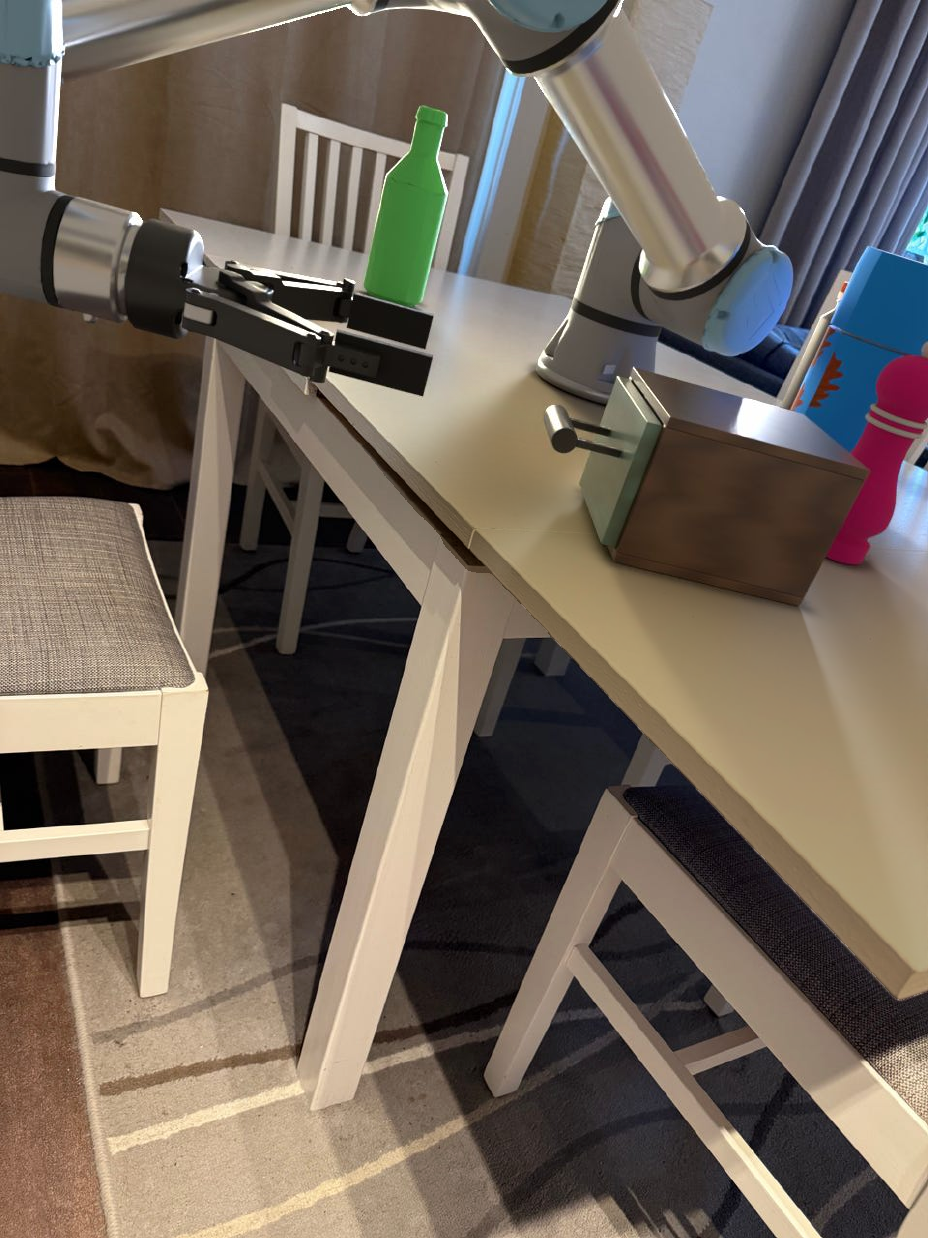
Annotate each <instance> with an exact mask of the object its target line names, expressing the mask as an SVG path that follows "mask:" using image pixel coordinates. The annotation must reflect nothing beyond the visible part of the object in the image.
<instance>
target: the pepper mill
mask: <svg viewBox="0 0 928 1238" xmlns="http://www.w3.org/2000/svg"><path fill="white" fill-rule="evenodd" d="M921 354H922V356H918V355H908V356H902V357H899V358H896V359H894V360H893V361H891V362H890V363H889V364H888V365H887V366H886V367H885V368H884V369H883V370H882V372H881V373H880V375H879V377H878V379H877V382H876V393H877V397H878V402H877V403H874V404H871V406H870V408H871V410H870V411H869V413H868V414H866V416H865V418H866V419H867V420H868V423H867V425H866V427H865V430H864V432H863V435H862V436H861V438H860V440H859V441H858V443H857V445H856V446H855V448H854V449H853V450H852V451H851V452H850V454H851V455H853V456H854V457H855V458H856V459H857V460H858V461H860V462H861V463H862V464H863V465H864V466H866V467H867V468H868V469H869V470H870V473H869V475H868V477H867V479H866V480H865V482H864V484H863V486H862V488H861V490H860V492H859V494H858V496H857V498H856V500H855V501H854V503H853V505H852V507H851V509H850V511H849V513H848V515H847V517H846V519H845V521H844V523H843V524H842V526H841V528H840V530H839V532H838V534H837V536H836V538H835V540H834V542H833V544H832V546H831V547H830V549H829V551H828V553H827V555H826V557H825V559H829V560H832V561H835V562H838V563H842V564H845V565H853V566H854V565H860V564H862V563H863V562H864V559H865V558H866V556H867V554H868V553H869V551H870V548H871V544H870V541H868V540H869V539H871V538H873V537H875V536H877V535H880V534H882V533H884V532H885V531H886V530H887V529H888V527H889V526H890V524H891V521H892V519H893V517H894V515H895V510H896V506H897V495H898V483H899V476H900V472H901V468H902V464H903V462H904V460H905V458H906V455H907V453H908V451H909V450H910V448H911V447H912V445H913V443H914V442H915V440H919V439H921V438H923V436H924V435H923V433H924V431H925V429H927V428H928V422H926V421H927V420H928V342H926V343H925V344H924V345H923V347H922V350H921Z"/></svg>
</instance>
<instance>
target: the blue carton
mask: <svg viewBox="0 0 928 1238" xmlns="http://www.w3.org/2000/svg"><path fill="white" fill-rule="evenodd" d="M848 282H849V283H848V285H847V287H846V289H845V291H844V294H843V296H842V298H841V300H840V302H839V305H838V307H837V309H836V311H835V313H834V315H833V318H832V320H831V322H830V323H831V324H832V325H829V326H828V329H827V331H826V333H825V335H824V337H823V339H822V342H821V344H820V346H819V348H818V350H817V352H816V355H815V357H814V359H813V361H812V363H811V366H810V368H809V370H808V372H807V374H806V376H805V379H804V381H803V383H802V385H801V387H800V389H799V392H798V394H797V396H796V398H795V400H794V403H793V405H792V407H791V409H790V411H794V412H797V413H801V414H804V415H805V416H806V417H808V418H809V419H810V420H811V421H812V422H813V423H815V424H816V425H817V426H818V427H819V428H821V429H822V430H823V431H824V432H825V433H827V434H828V435H829V436H830V437H831V438H832V439H834V440H835V441H836V442H837V443H838V444H840V445H841V446H842V447H843V448H844V449H845V450H847V451H848V452H849V453H850V452H851V451H852V450H853V449H854V448H855V446H856V445H857V443H858V441H859V440H860V438H861V436H862V435H863V432H864V430H865V427H866V425H867V423H868V420H867V419H866V418H865V416H866V414H868V413H869V411H870V410H871V408H870V406H871V404H874V403H877V402H878V397H877V393H876V382H877V379H878V377H879V375H880V373H881V372H882V370H883V369H884V368H885V367H886V366H887V365H888V364H889V363H890V362H891V361H893V360H894V359H896V358H899V357H902V356H908V355H918V356H922V354H921V350H922V347H923V345H924V344H925V343H926V342H928V264H927V263H924V262H921V261H918V260H915V259H913V258H910V257H909V258H908V257H905V256H902V255H899V254H896V253H892V252H889V251H886V250H883V249H879V248H876V247H873V246H869V245H867V246H866V248H865V250H864V251H863V253H862V255H861V257H860V258H859V260H858V262H857V263H856V266H855V267H854V269H853V272H852V274H851V277H850V279H849V281H848Z"/></svg>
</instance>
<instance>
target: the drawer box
mask: <svg viewBox="0 0 928 1238" xmlns="http://www.w3.org/2000/svg"><path fill="white" fill-rule="evenodd" d="M629 379H630V380H631V382H632V383H633V384H634V386H635V387H636V389H637V390H638V391H639V393H640V394H641V396H642V397H643V396H644V397H645V398H646V399H647V401H648V402H649V404H650V405H651V407H652V408H653V409H654V411H655V412H656V414H657V415H658V416H659V418H660V419H661V421H662V422H663V423H664V425H663V427H662V430H661V433H660V435H659V438H658V440H657V443H656V445H655V448H654V450H653V453H652V456H651V458H650V461H649V463H648V466H647V468H646V471H645V473H644V476H643V479H642V481H641V484H640V486H639V489H638V491H637V494H636V496H635V499H634V502H633V504H632V507H631V509H630V512H629V514H628V517H627V519H626V522H625V525H624V527H623V530H622V532H621V535H620V537H619V540H618V542H617V545H616V547H612V546H608V545H606V547H607V549H608V552H609V554H610V556H611V559H612V561H613V562H614V563H617V564H623V565H626V566H630V567H634V568H639V569H642V570H646V571H647V570H648V571H651V572H656V573H660V574H663V575H668V576H672V577H675V578H676V577H677V578H679V579H683V580H689V581H693V582H697V583H702V584H705V585H710V586H714V587H718V588H721V589H722V588H723V589H727V590H730V591H734V592H738V593H743V594H746V595H750V596H755V597H759V598H763V599H768V600H772V601H776V602H781V603H784V604H788V605H792V606H797V607H800V606H801V605H802V603H803V601H804V599H805V597H806V595H807V593H808V591H809V590H810V587H811V586H812V584H813V582H814V580H815V578H816V576H817V574H818V573H819V570H820V569H821V567H822V565H823V563H824V561H825V559H826V555H827V553H828V551H829V549H830V547H831V546H832V544H833V542H834V540H835V538H836V536H837V534H838V532H839V530H840V528H841V526H842V524H843V523H844V521H845V519H846V517H847V515H848V513H849V511H850V509H851V507H852V505H853V503H854V501H855V500H856V498H857V496H858V494H859V492H860V490H861V488H862V486H863V484H864V482H865V480H866V479H867V477H868V475H869V473H870V470H869V469H868V468H867V467H866V466H864V465H863V464H862V463H861V462H860V461H858V460H857V459H856V458H855V457H854V456H853V455H851V454H850V453H849V452H848V451H847V450H845V449H844V448H843V447H842V446H841V445H840V444H838V443H837V442H836V441H835V440H834V439H832V438H831V437H830V436H829V435H828V434H827V433H825V432H824V431H823V430H822V429H821V428H819V427H818V426H817V425H816V424H815V423H813V422H812V421H811V420H810V419H809V418H808V417H806V416H805V415H804V414H801V413H797V412H794V411H790V410H786V409H783V408H780V406H775V405H772V404H769V403H766V402H765V403H764V402H761V401H758V400H754V399H750V398H747V397H743V396H739V395H735V394H731V393H729V392H725V391H722V390H717V389H715V388H712V387H711V388H710V387H706V386H703V385H699V384H695V383H692V382H689V381H685V380H681V379H677V378H675V377H671V376H667V375H663V374H660V373H656V372H655V373H653V372H649V371H646V370H642V369H638V368H635V367H633V369H632V372H631V375H630V378H629Z"/></svg>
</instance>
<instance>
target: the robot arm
mask: <svg viewBox="0 0 928 1238" xmlns="http://www.w3.org/2000/svg"><path fill="white" fill-rule="evenodd" d="M623 1H624V0H0V294H5V295H8V296H12V297H17V298H20V299H24V300H28V301H33V302H36V303H40V304H45V305H49V306H53V307H56V308H60V309H63V310H67V311H70V312H77V313H81V314H83V315H82V319H83V321H84V322H86V323H87V324H96V323H98V320H99V319H101V320H105V321H109V322H113V323H116V324H123V323H124V322H126V321H128V322H129V323H130V324H131V326H132V327H133V328H134V329H137V330H141V331H144V332H148V333H152V334H155V335H158V336H162V337H167V338H171V339H174V340H180V339H183V338H184V337H186V335H187V334H188V333H189V332H191V333H195V334H200V335H203V336H207V337H209V338H213V339H215V340H217V341H219V342H221V343H225V344H227V345H229V346H232V347H234V348H235V349H239V350H241V351H243V352H245V353H249V354H251V355H253V356H255V357H257V358H260V359H262V360H265V361H267V362H269V363H272V364H274V365H277V366H279V367H281V368H284V369H286V370H289V371H290V372H293V373H294V374H295V373H296V374H298V375H300V376H302V377H305V378H308V379H309V380H308V381H310V382H313V383H316V384H324V383H326V378H327V374H328V373H327V372H329V373H331V374H336V375H340V376H343V377H347V378H351V379H355V380H358V381H361V382H365V383H370V384H374V385H377V386H381V387H385V388H387V389H393V390H395V391H396V390H397V391H400V392H404V393H407V394H410V395H411V394H412V395H415V396H418V397H422V398H423V397H424V394H425V391H426V387H427V383H428V380H429V376H430V371H431V367H432V364H433V360H434V354H431V353H428V352H423V351H419V350H417V349H418V348H419V349H423V350H426V348H427V346H428V342H429V337H430V333H431V329H432V325H433V321H434V317H435V314H434V313H431V312H427V311H425V310H424V311H423V310H419V309H416V308H413V307H406V306H402V305H399V304H395V303H392V302H388V301H385V300H381V299H377V298H374V297H372V296H371V295H367V294H364V293H360V292H356V291H355V286H356V282H355V281H354V280H351V279H348V278H343V281H332V280H327V279H326V280H325V279H322V278H317V277H309V276H306V275H300V274H294V273H289V272H283V271H278V270H273V269H267V268H263V267H257V266H252V265H249V264H244V263H241V262H238V261H237V260H233V259H230V260H225V262H224V268H219V267H216V266H215V267H214V266H213V267H210V266H209V265H207V264H206V262H205V259H204V255H205V248H204V241H203V239H202V237H201V235H200V234H199V232H197V231H196V230H194V229H192V228H187V227H185V226H182V225H177V224H174V223H171V222H168V221H163V220H160V219H156V218H149V219H148V220H146V219H145V220H144V221H143V220H142V218H141V217H140V215H139V214H138V213H137V212H134V211H131V210H128V209H124V208H121V207H117V206H113V205H110V204H106V203H103V202H99V201H95V200H93V199H88V198H85V197H82V196H81V197H80V196H74V195H71V194H66V193H64V192H61V191H60V190H56V186H55V182H56V181H55V180H56V174H57V173H56V171H57V162H56V160H57V159H56V158H57V141H58V128H59V127H58V125H59V111H60V110H59V108H60V92H61V91H60V90H61V86H62V85H64V84H67V83H71V82H74V81H78V80H82V79H85V78H89V77H93V76H96V75H99V74H104V73H107V72H111V71H115V70H119V69H121V68H125V67H129V66H132V65H136V64H140V63H143V62H147V61H151V60H154V59H159V58H162V57H165V56H169V55H173V54H176V53H180V52H184V51H187V50H191V49H194V48H197V47H202V46H205V45H208V44H212V43H213V44H214V43H216V42H220V41H224V40H228V39H231V38H234V37H238V36H241V35H245V34H248V33H249V34H250V33H252V32H253V33H254V32H256V31H260V30H263V29H267V28H271V27H274V26H275V27H276V26H279V25H282V24H285V23H290V22H293V21H296V20H300V19H303V18H307V17H311V16H315V15H317V14H322V13H325V12H329V11H333V10H336V9H340V8H343V7H347V8H348V9H349V10H351V11H352V13H354V14H355V15H357V16H361V17H364V16H368V15H371V14H375V13H378V12H381V11H386V10H395V9H418V10H419V9H420V10H433V11H439V12H446V13H449V14H454V15H460V16H465V17H469V18H471V19H472V20H473V21H474V22H475V23H476V25H477V26H478V28H479V29H480V31H481V33H482V34H483V36H484V37H485V38H486V40H487V41H488V43H489V45H490V46H491V48H492V49H493V51H494V52H495V54H496V55H497V57H498V58H499V60H500V62H501V63H502V65H503V66H504V68H505V69H506V70H507V71H508V72H509V73H510V74H511V75H513V76H514V77H520V78H534V79H535V80H536V82H537V84H538V86H539V87H540V89H541V90H542V92H543V93H544V96H545V97H546V98H547V100H548V102H549V104H551V106H552V108H553V109H554V111H555V113H556V115H557V116H558V117H559V119H560V120H561V122H562V123H563V125H564V127H565V128H566V130H567V132H568V133H569V135H570V136H571V138H572V140H573V141H574V143H575V144H576V146H577V147H578V149H579V151H580V152H581V154H582V155H583V158H584V159H585V160H586V163H588V165H589V167H590V168H591V170H592V171H593V173H594V175H595V177H596V178H597V179H598V181H599V182H600V185H601V187H603V189H604V190H605V192H606V194H607V195H608V197H607V199H606V200H605V202H604V204H603V207H602V210H601V212H600V214H599V218H598V219H597V221H596V222H595V224H594V229H593V233H592V235H591V239H590V243H589V246H588V248H587V249H588V250H587V252H586V256H585V259H584V263H583V266H582V269H581V271H580V275H579V279H578V282H577V284H576V289H575V292H574V295H573V299H572V302H571V305H570V308H569V311H568V314H567V316H566V317H565V319H564V320H563V322H562V323H561V325H560V326H559V328H558V329H557V331H555V334H554V335H553V336H552V338H551V339H550V340H549V342H548V343H547V345H546V347H545V348H544V349H543V351H542V353H541V354H540V357H539V359H538V362H537V365H536V368H535V371H536V373H537V374H538V375H539V376H540V378H542V379H543V380H545V381H546V382H547V383H549V384H551V385H553V386H555V387H557V388H559V389H561V390H563V391H565V392H568V393H570V394H572V395H574V396H578V397H580V398H583V399H586V400H589V401H592V402H596V403H599V404H602V405H606V406H607V403H608V400H609V398H610V395H611V392H612V389H613V386H614V384H615V381H616V378H617V376H619V377H623V378H626V379H629V378H630V375H631V372H632V369H633V367H635V368H638V369H642V370H646V371H649V372H653V373H656V357H657V356H656V355H657V345H658V340H659V338H660V334H661V332H662V329H663V328H664V329H666V330H667V331H670V332H673V333H674V334H677V335H679V336H681V337H682V338H684V339H685V340H686V339H687V340H688V341H690V342H693V343H695V344H697V345H699V346H701V347H702V348H703V349H704V350H705V351H707V352H712V353H713V352H715V353H717V354H719V355H722V356H726V357H735V356H739V355H740V354H741V355H743V354H745V353H747V352H749V351H752V350H753V349H754V348H756V347H757V346H758V345H759V344H760V343H761V342H762V341H764V339H766V338H767V336H768V335H769V334H770V333H771V332H772V330H773V329H774V328H775V327H776V325H777V324H778V323H779V320H780V319H781V317H782V315H783V313H784V311H785V309H786V307H787V303H788V300H789V298H790V296H791V292H792V289H793V283H794V269H793V265H792V261H791V259H790V257H789V256H788V255H787V254H786V253H785V252H783V251H781V250H779V248H778V247H776V246H775V245H766V244H763V243H762V242H761V241H760V240H759V239H758V238H757V237H756V235H755V233H754V231H753V229H752V226H751V224H750V222H749V220H748V218H747V216H746V214H745V212H744V210H743V209H742V207H741V206H740V205H739V204H738V202H736V201H734V200H732V199H730V198H727V197H723V196H718V195H717V193H716V192H715V189H714V187H713V186H712V184H711V181H710V180H709V177H708V175H707V174H706V171H705V169H704V168H703V166H702V164H701V162H700V160H699V157H698V155H697V153H696V152H695V149H694V148H693V145H692V144H691V142H690V140H689V138H688V136H687V134H686V132H685V130H684V128H683V126H682V124H681V122H680V120H679V118H678V116H677V113H676V112H675V110H674V108H673V106H672V104H671V102H670V100H669V98H668V95H666V92H665V90H664V88H663V86H662V84H661V82H660V79H659V78H658V76H657V74H656V72H655V70H654V68H653V67H652V65H651V63H650V61H649V58H648V56H647V55H646V53H645V51H644V49H643V46H642V44H641V43H640V41H639V38H638V36H637V35H636V32H635V30H634V29H633V27H632V25H631V22H630V21H629V18H628V16H627V15H626V12H625V11H624V8H623V7H622V3H623ZM311 321H316V322H329V323H330V322H331V323H338V324H346V329H348V330H352V331H356V332H360V333H363V334H368V335H370V336H374V337H378V338H382V339H386V340H389V341H393V342H397V343H400V344H404V345H407V346H411V347H415V348H417V349H416V350H415V349H413V348H409V347H405V346H401V345H397V344H394V343H391V342H387V341H383V340H379V339H377V338H372V337H369V336H364V335H362V334H358V333H354V332H351V331H347V330H342V329H339V328H338V329H336V332H335V334H334V333H332V332H331V331H329V330H328V329H325V328H323V327H322V326H319V325H317V324H315V323H313V322H311Z"/></svg>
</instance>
